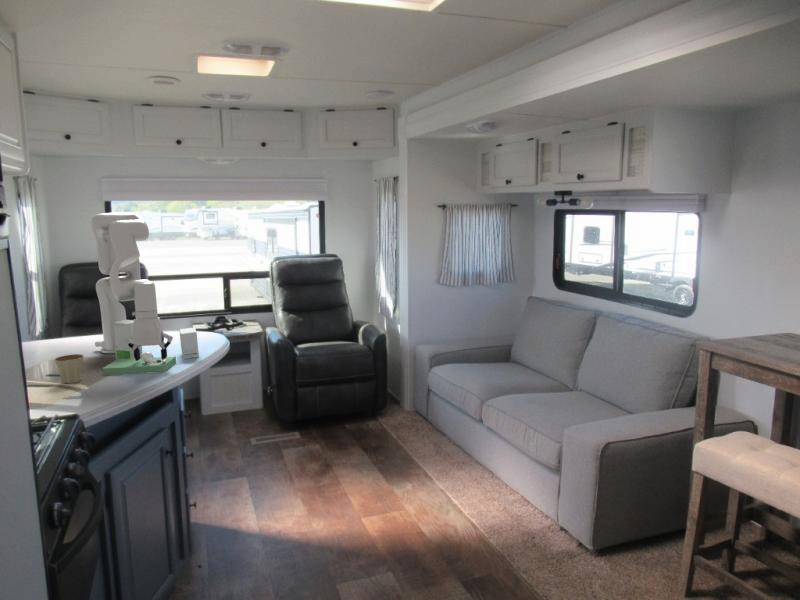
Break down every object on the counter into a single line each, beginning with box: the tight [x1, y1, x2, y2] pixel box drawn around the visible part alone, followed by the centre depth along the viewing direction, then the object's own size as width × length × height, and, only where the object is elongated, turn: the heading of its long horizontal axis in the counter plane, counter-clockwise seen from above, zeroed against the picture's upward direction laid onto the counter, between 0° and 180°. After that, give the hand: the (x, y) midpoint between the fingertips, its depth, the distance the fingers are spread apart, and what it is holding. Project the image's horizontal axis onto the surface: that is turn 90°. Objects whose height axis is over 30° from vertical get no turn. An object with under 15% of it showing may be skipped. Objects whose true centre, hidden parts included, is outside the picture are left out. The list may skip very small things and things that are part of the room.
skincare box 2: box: [179, 327, 200, 359], centre depth 251 cm, size 10×6×10 cm, turn 22°
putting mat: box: [102, 356, 177, 376], centre depth 232 cm, size 22×14×2 cm, turn 93°
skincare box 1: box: [114, 319, 144, 361], centre depth 247 cm, size 8×7×16 cm
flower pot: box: [53, 353, 85, 384], centre depth 217 cm, size 9×9×9 cm
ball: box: [142, 351, 154, 362], centre depth 232 cm, size 4×4×4 cm
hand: (151, 359), depth 232 cm, fingers open, 9 cm apart
